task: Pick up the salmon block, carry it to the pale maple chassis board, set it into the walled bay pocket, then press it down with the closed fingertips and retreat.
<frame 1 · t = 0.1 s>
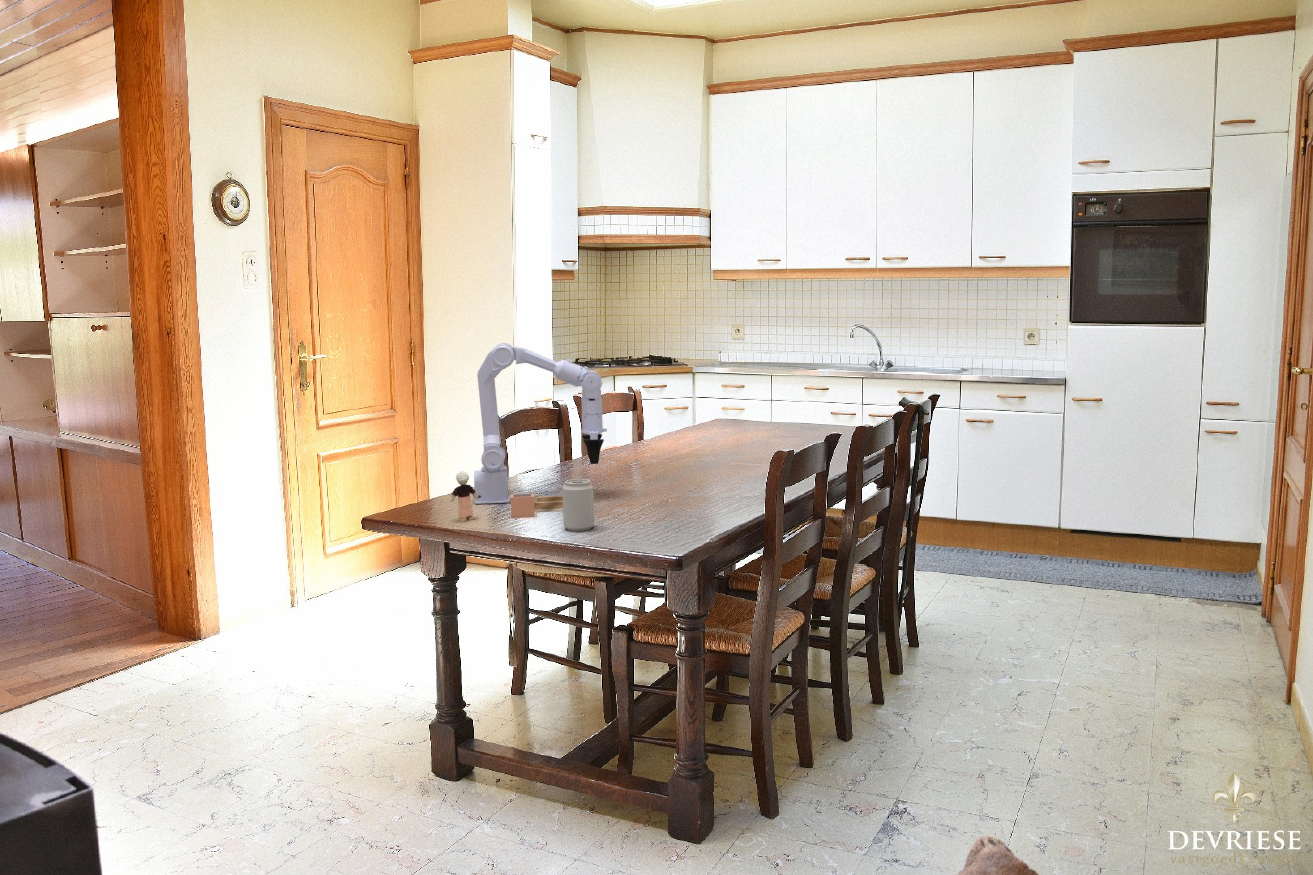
hand: (593, 461, 289), 10 cm above the table, tool pointing down, fingers open, 7 cm apart
grandmother figurine: (464, 520, 264), on the table
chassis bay: (553, 507, 277), on the table
salmon block: (523, 516, 267), on the table
can: (579, 529, 252), on the table
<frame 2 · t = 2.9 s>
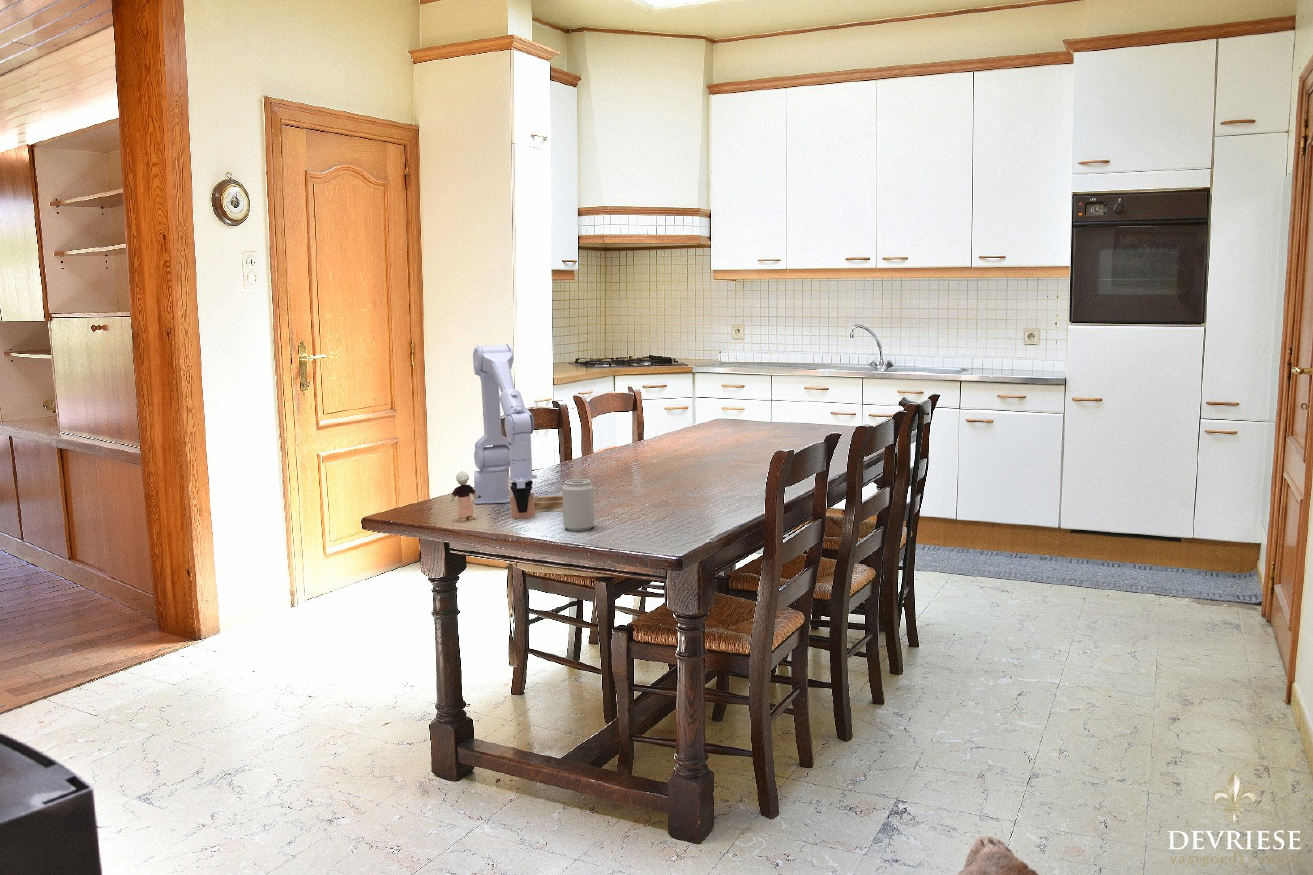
hand: (522, 510, 267), 1 cm above the table, tool pointing down, fingers closed on salmon block, 4 cm apart
salmon block: (523, 515, 267), on the table, touching gripper
everything else where it was.
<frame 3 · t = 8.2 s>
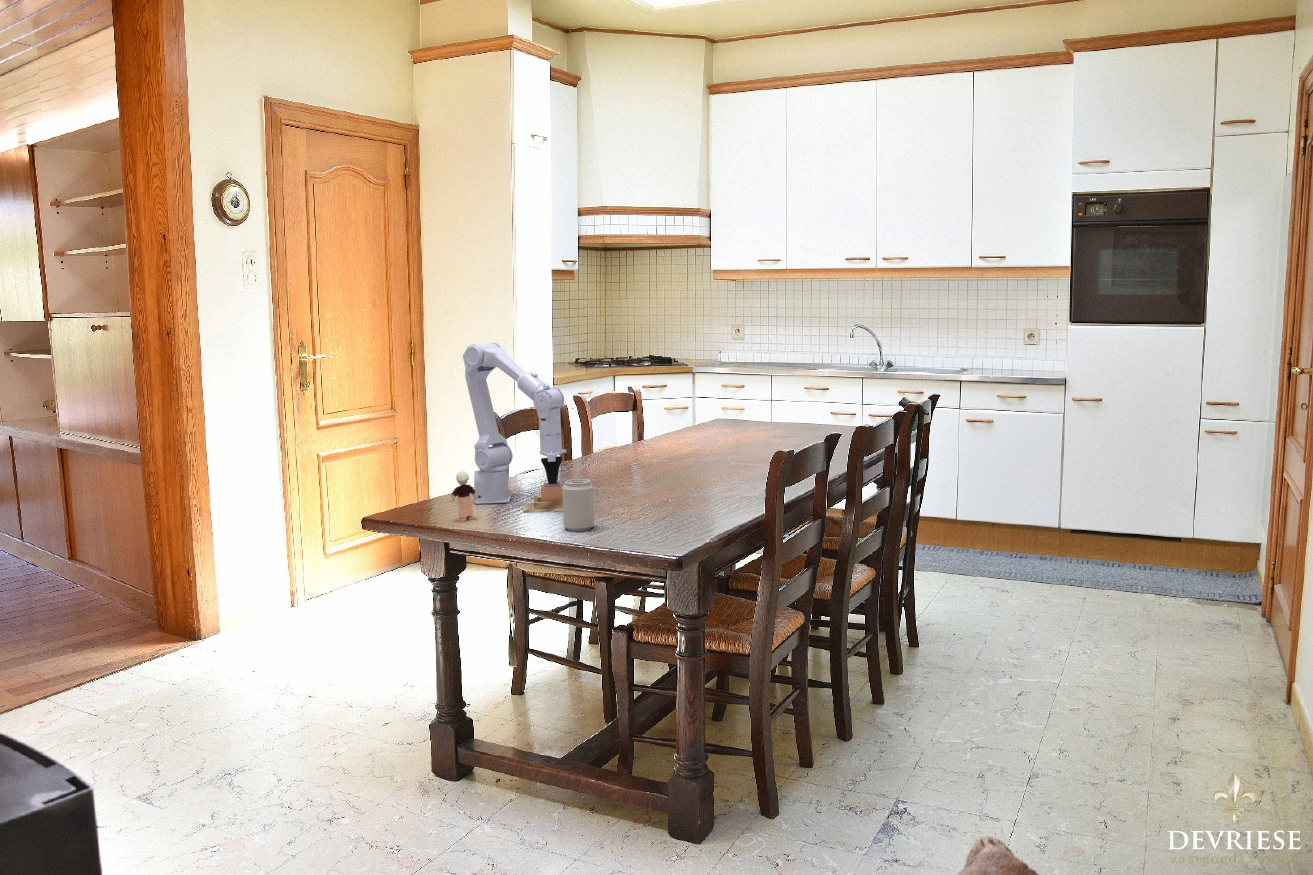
hand: (552, 484, 276), 6 cm above the table, tool pointing down, fingers closed, pressing on salmon block
salmon block: (552, 505, 277), point 1 cm above the table, touching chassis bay, gripper
everything else where it was.
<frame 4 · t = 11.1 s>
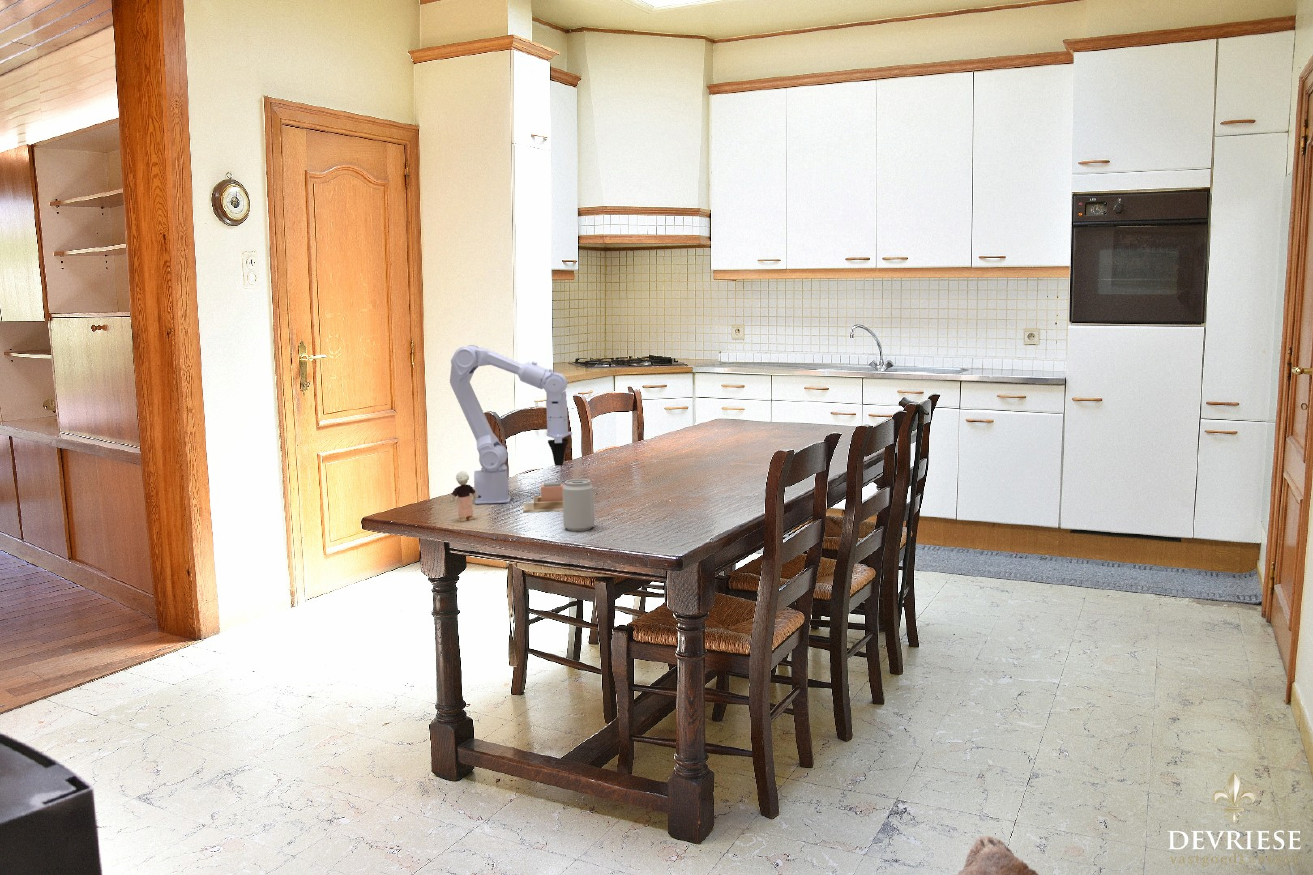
hand: (558, 465, 285), 10 cm above the table, tool pointing down, fingers closed
salmon block: (552, 505, 277), point 1 cm above the table, touching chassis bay
everything else where it was.
at the end: salmon block 0.1 cm off-centre on the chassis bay, point 0.6 cm above the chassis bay's base; salmon block tilted 0°; the gripper is holding nothing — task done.
